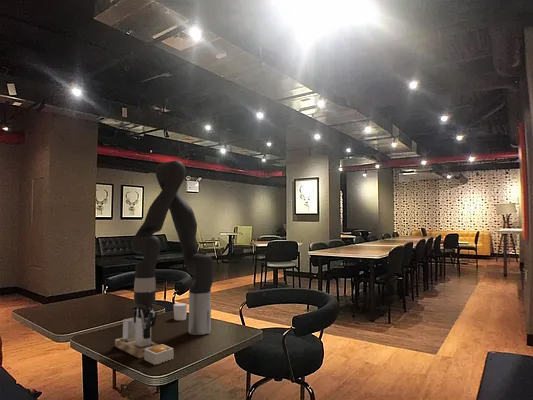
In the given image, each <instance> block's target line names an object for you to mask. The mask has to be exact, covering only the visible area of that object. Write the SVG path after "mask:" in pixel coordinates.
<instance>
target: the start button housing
mask: <svg viewBox="0 0 533 400" xmlns="http://www.w3.org/2000/svg"><path fill="white" fill-rule="evenodd" d="M159 345H164V346H166V347H167V350H165V351H162V352H159V353H154V352H152V347H151V348H147V349H145V352H144V357H143V358H144V361H146V362H148V363H150V364H153V365H154V366H156V364H157V365H159V364H163V363H166V362H168V360H169V361H171V359H172V360H174V350H175V349H174V347H170V346H168V345H166V344H163V343H161V344H159ZM159 345H157V346H159ZM165 361H166V362H165ZM162 362H163V363H162Z"/></svg>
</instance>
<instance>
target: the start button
mask: <svg viewBox="0 0 533 400" xmlns="http://www.w3.org/2000/svg"><path fill="white" fill-rule="evenodd" d="M164 345H165V344H164ZM164 345H161V344H159V346H154V347H152V352H154V353H159V352H162V351H165V350H167V347H166V346H167V345H166V346H164Z"/></svg>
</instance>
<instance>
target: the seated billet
mask: <svg viewBox="0 0 533 400" xmlns="http://www.w3.org/2000/svg"><path fill="white" fill-rule="evenodd" d="M135 335H136V323H134V318H133V317H129V318H125V319H122V338H123V341H124V342H126V343H128V342H132V341H135Z"/></svg>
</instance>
